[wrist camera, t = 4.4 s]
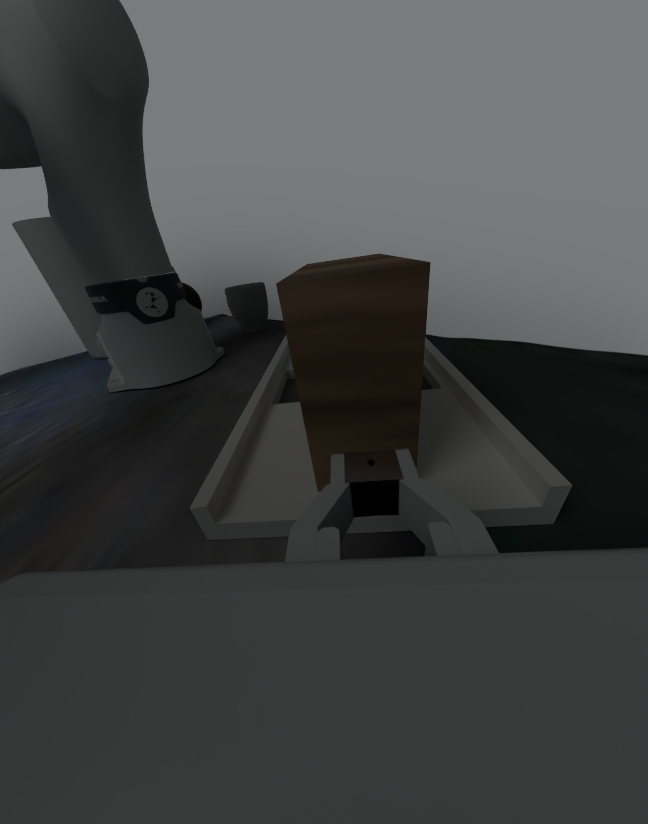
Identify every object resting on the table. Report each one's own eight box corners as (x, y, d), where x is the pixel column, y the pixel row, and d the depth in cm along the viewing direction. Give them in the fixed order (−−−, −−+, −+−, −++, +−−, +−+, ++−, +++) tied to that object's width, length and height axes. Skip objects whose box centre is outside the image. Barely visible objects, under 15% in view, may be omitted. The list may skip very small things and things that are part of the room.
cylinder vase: (112, 361, 57) (31, 215, 44) (81, 359, 62) (-1, 228, 49) (163, 341, 66) (108, 217, 53) (132, 341, 71) (75, 227, 58)
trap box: (553, 523, 15) (583, 462, 13) (207, 540, 17) (178, 489, 14) (406, 336, 46) (407, 309, 43) (290, 350, 47) (285, 324, 45)
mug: (281, 325, 65) (272, 281, 60) (253, 336, 60) (240, 288, 55) (249, 323, 72) (239, 283, 67) (221, 332, 66) (208, 290, 62)
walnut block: (415, 486, 16) (430, 262, 10) (317, 492, 17) (276, 283, 11) (381, 385, 28) (379, 253, 22) (325, 390, 29) (307, 264, 23)
